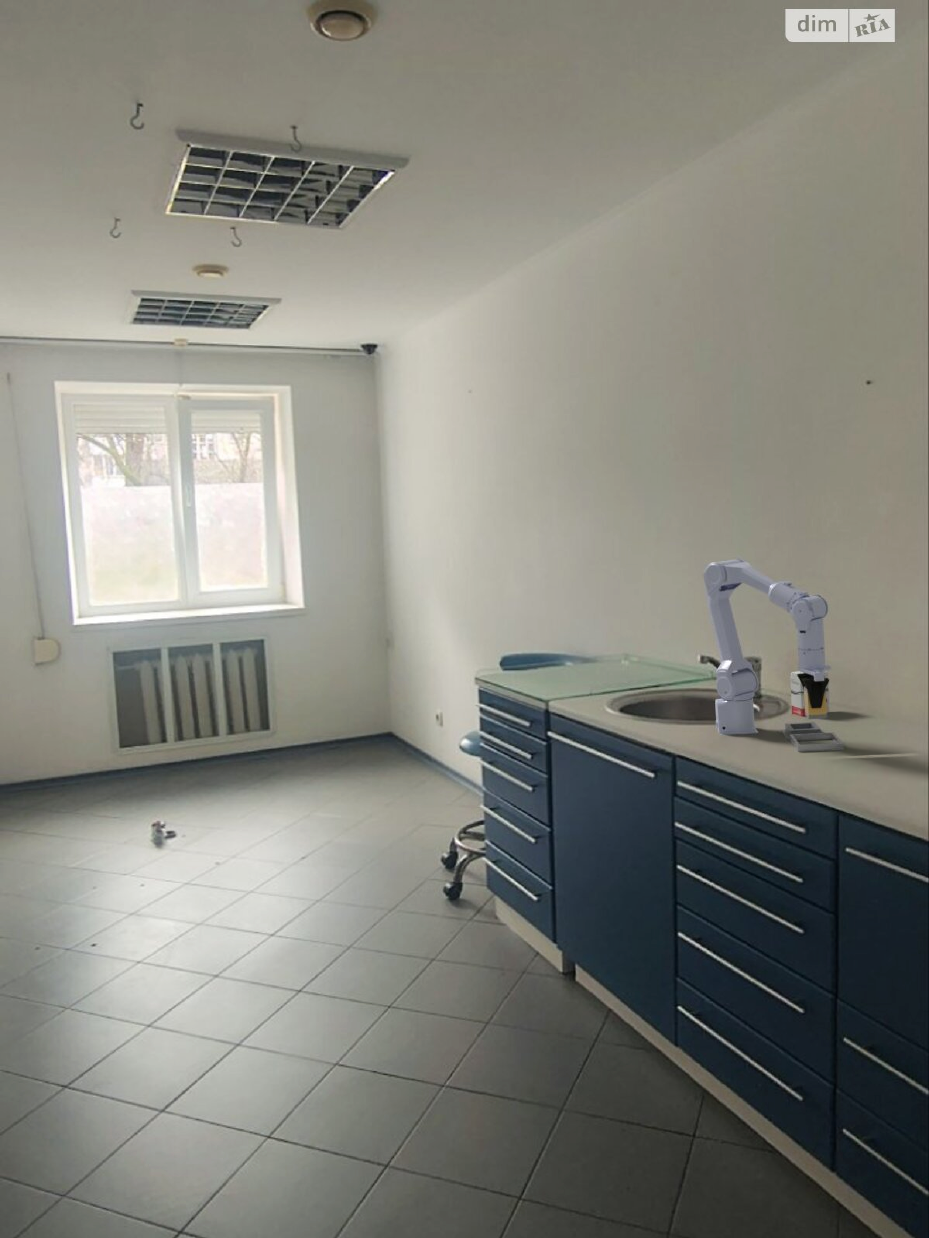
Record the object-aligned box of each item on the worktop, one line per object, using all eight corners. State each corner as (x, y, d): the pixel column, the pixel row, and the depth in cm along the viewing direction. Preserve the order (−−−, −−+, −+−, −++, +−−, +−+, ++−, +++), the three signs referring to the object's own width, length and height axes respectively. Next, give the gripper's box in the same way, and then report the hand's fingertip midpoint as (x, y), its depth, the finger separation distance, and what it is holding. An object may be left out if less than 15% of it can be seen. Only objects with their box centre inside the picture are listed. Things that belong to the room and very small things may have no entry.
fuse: (808, 719, 202) (807, 689, 201) (805, 715, 206) (803, 686, 205) (827, 718, 201) (825, 688, 201) (823, 714, 205) (821, 685, 204)
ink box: (802, 718, 231) (800, 675, 229) (791, 715, 235) (788, 672, 234) (830, 714, 232) (828, 670, 231) (819, 710, 237) (817, 667, 236)
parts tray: (798, 754, 201) (797, 745, 200) (790, 742, 210) (789, 734, 210) (844, 752, 199) (843, 743, 198) (833, 740, 208) (833, 732, 208)
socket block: (787, 741, 211) (786, 731, 211) (780, 731, 220) (779, 722, 220) (826, 739, 210) (825, 729, 209) (818, 730, 218) (817, 720, 218)
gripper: (837, 652, 194) (840, 711, 196) (822, 642, 208) (825, 697, 210) (803, 654, 195) (807, 713, 197) (791, 644, 210) (794, 699, 211)
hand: (814, 705), depth 203 cm, fingers closed on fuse, 4 cm apart
